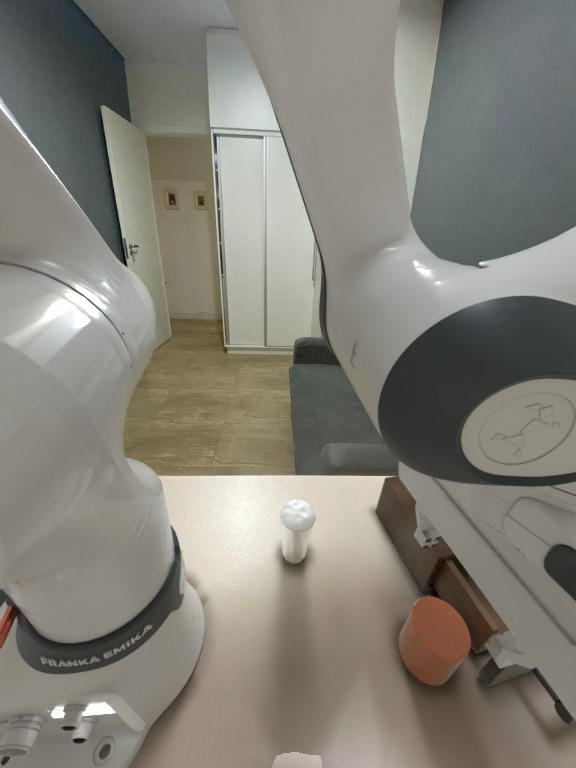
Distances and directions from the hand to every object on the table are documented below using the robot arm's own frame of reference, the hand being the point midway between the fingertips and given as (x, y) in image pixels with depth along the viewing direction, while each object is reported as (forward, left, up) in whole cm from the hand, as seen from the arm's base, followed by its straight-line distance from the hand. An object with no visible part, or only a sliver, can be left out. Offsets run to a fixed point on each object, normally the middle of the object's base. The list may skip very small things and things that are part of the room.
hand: (456, 590), depth 28 cm
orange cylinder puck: (+1, 0, -13) cm, 13 cm away
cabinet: (+11, +12, -13) cm, 21 cm away
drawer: (+11, -1, -12) cm, 16 cm away
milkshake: (-11, +14, -13) cm, 22 cm away
